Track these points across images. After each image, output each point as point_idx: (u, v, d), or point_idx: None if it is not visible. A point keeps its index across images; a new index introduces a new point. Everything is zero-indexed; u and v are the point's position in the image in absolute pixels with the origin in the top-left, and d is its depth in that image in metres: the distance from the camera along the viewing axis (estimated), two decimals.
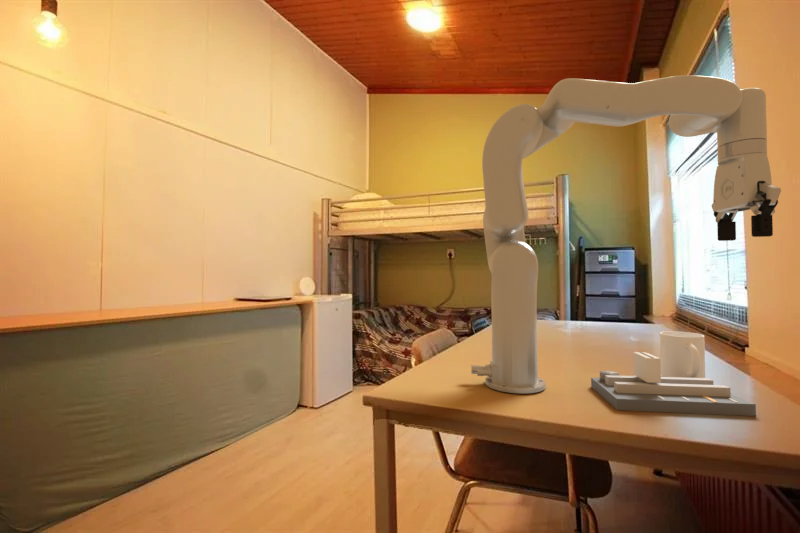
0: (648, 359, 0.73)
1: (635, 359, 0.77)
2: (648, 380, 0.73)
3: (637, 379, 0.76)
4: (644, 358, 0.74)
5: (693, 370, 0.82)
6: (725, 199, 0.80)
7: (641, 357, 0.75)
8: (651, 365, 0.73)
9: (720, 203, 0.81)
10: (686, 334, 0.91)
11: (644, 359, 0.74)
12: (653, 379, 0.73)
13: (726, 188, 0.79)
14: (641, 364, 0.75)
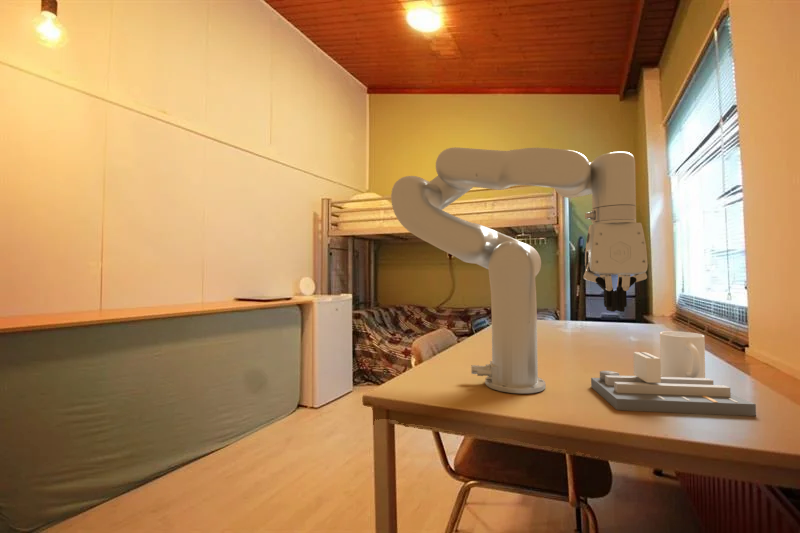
0: (648, 359, 0.73)
1: (635, 359, 0.77)
2: (648, 380, 0.73)
3: (637, 379, 0.76)
4: (644, 358, 0.74)
5: (693, 370, 0.82)
6: (617, 262, 0.74)
7: (641, 357, 0.75)
8: (651, 365, 0.73)
9: (608, 266, 0.74)
10: (686, 334, 0.91)
11: (644, 359, 0.74)
12: (653, 379, 0.73)
13: (619, 251, 0.74)
14: (641, 364, 0.75)
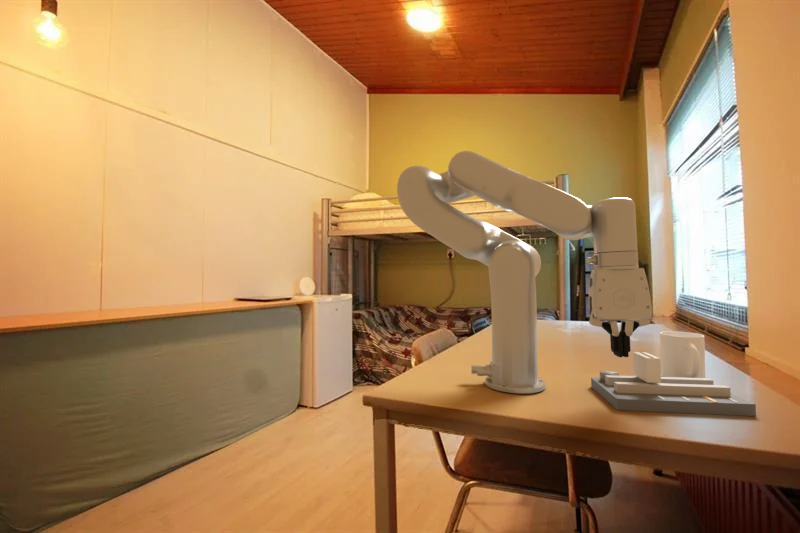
0: (648, 359, 0.73)
1: (635, 359, 0.77)
2: (648, 380, 0.73)
3: (637, 379, 0.76)
4: (644, 358, 0.74)
5: (693, 370, 0.82)
6: (621, 309, 0.74)
7: (641, 357, 0.75)
8: (651, 365, 0.73)
9: (612, 312, 0.74)
10: (686, 334, 0.91)
11: (644, 359, 0.74)
12: (653, 379, 0.73)
13: (622, 298, 0.73)
14: (641, 364, 0.75)
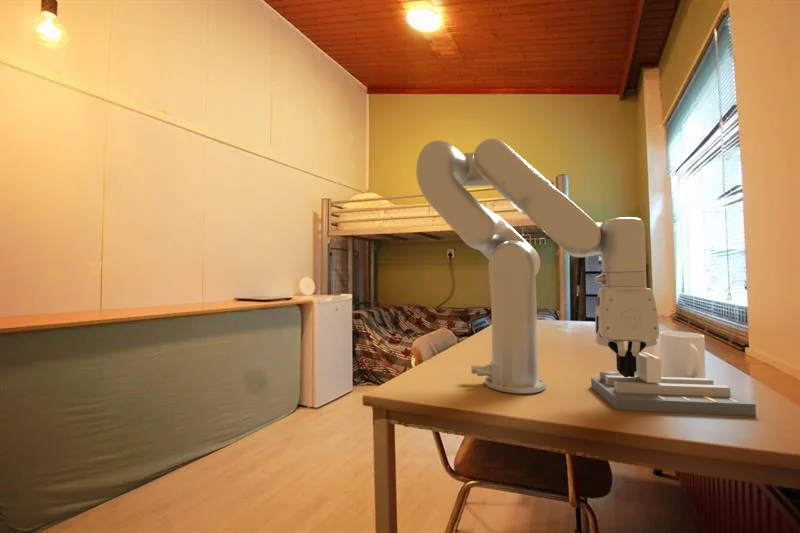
0: (648, 359, 0.73)
1: (636, 359, 0.77)
2: (648, 380, 0.73)
3: (637, 379, 0.76)
4: (644, 358, 0.74)
5: (693, 370, 0.82)
6: (628, 329, 0.73)
7: (641, 357, 0.75)
8: (652, 365, 0.73)
9: (619, 332, 0.74)
10: (686, 334, 0.91)
11: (644, 359, 0.74)
12: (653, 379, 0.73)
13: (630, 318, 0.73)
14: (642, 364, 0.75)
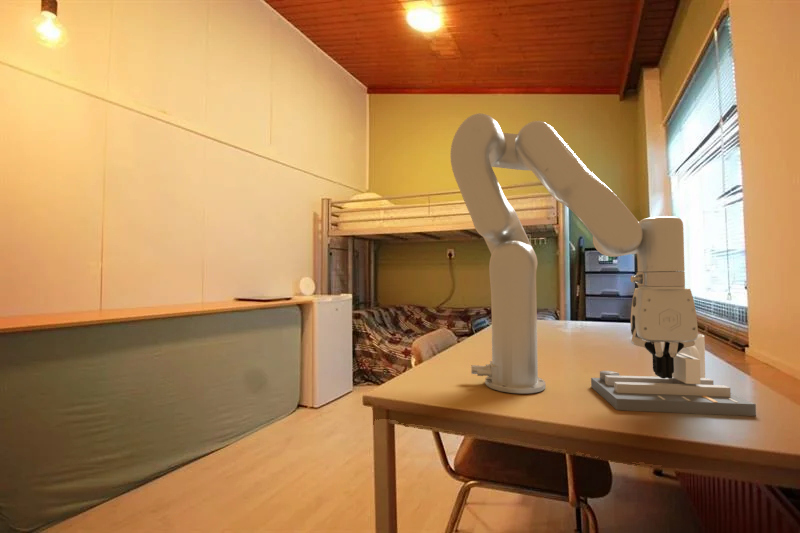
0: (687, 360, 0.72)
1: None
2: (687, 381, 0.72)
3: (674, 380, 0.75)
4: (683, 359, 0.73)
5: None
6: (666, 330, 0.72)
7: (679, 358, 0.74)
8: (691, 366, 0.72)
9: (657, 333, 0.73)
10: None
11: (683, 360, 0.73)
12: (692, 380, 0.72)
13: (668, 319, 0.72)
14: (679, 365, 0.74)
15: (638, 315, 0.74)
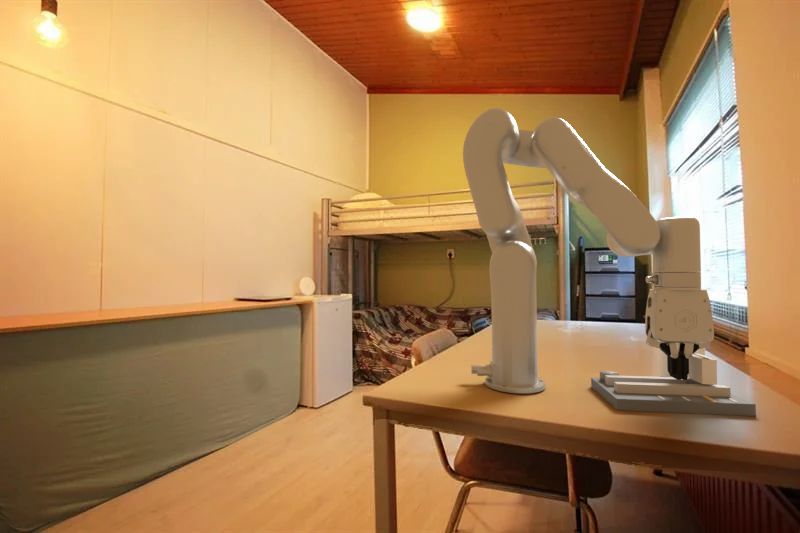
0: (704, 360, 0.71)
1: None
2: (704, 382, 0.71)
3: (690, 381, 0.75)
4: (699, 359, 0.72)
5: None
6: (682, 331, 0.72)
7: (695, 358, 0.73)
8: (707, 366, 0.71)
9: (673, 334, 0.72)
10: None
11: (699, 360, 0.72)
12: (709, 381, 0.71)
13: (684, 319, 0.72)
14: (695, 365, 0.73)
15: (653, 316, 0.74)
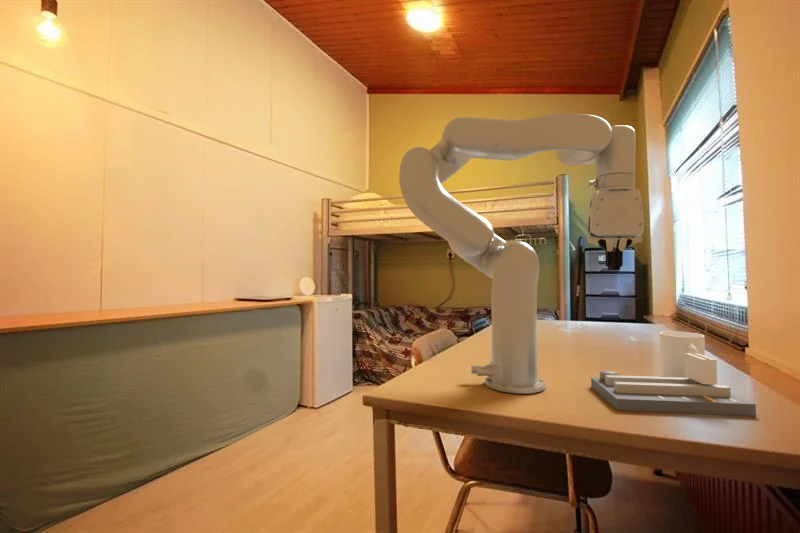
0: (704, 360, 0.71)
1: (687, 360, 0.76)
2: (704, 382, 0.71)
3: (690, 381, 0.75)
4: (699, 359, 0.72)
5: None
6: (615, 225, 0.82)
7: (695, 358, 0.73)
8: (707, 366, 0.71)
9: (608, 228, 0.82)
10: (686, 334, 0.91)
11: (699, 360, 0.72)
12: (709, 381, 0.71)
13: (617, 215, 0.82)
14: (695, 365, 0.73)
15: (592, 214, 0.84)
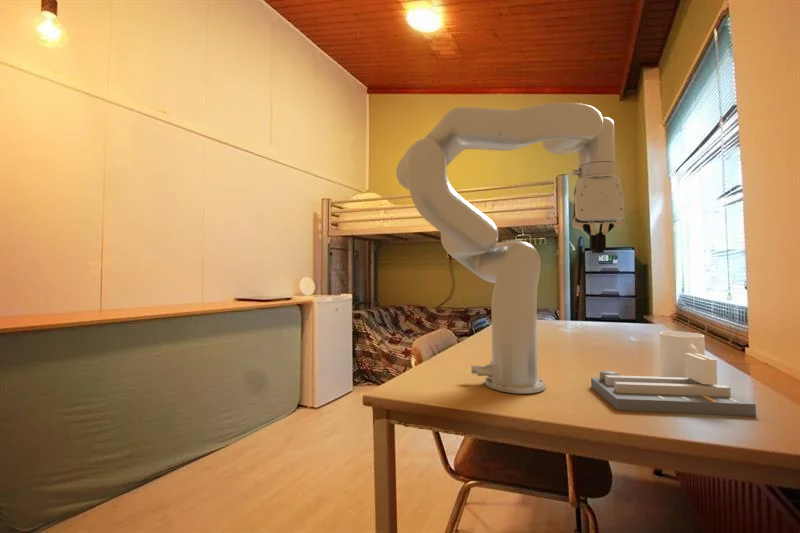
0: (704, 360, 0.71)
1: (687, 360, 0.76)
2: (704, 382, 0.71)
3: (690, 381, 0.75)
4: (699, 359, 0.72)
5: None
6: (598, 210, 0.88)
7: (695, 358, 0.73)
8: (707, 366, 0.71)
9: (591, 213, 0.88)
10: (686, 334, 0.91)
11: (699, 360, 0.72)
12: (709, 381, 0.71)
13: (600, 201, 0.88)
14: (695, 365, 0.73)
15: (577, 200, 0.89)
